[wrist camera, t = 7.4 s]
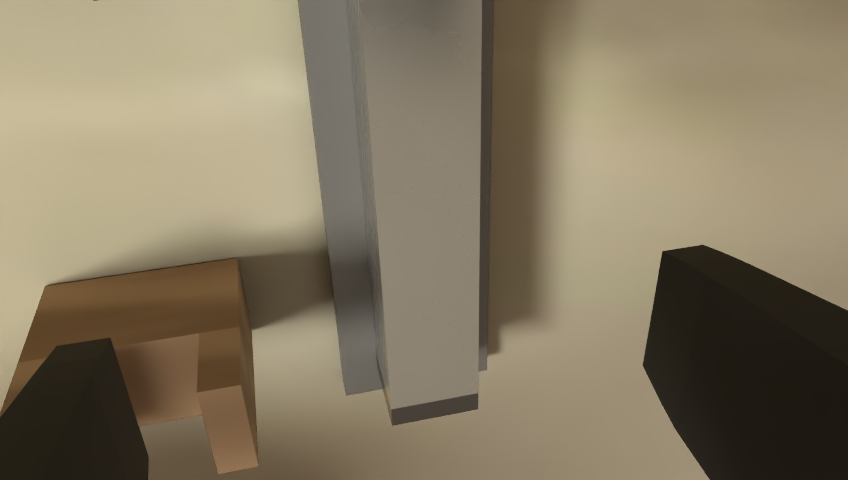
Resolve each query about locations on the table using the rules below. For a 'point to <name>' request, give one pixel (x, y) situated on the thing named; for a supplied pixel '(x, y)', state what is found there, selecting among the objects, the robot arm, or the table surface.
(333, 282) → the gray bar
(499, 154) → the table surface
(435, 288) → the rail
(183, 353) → the cradle posts
